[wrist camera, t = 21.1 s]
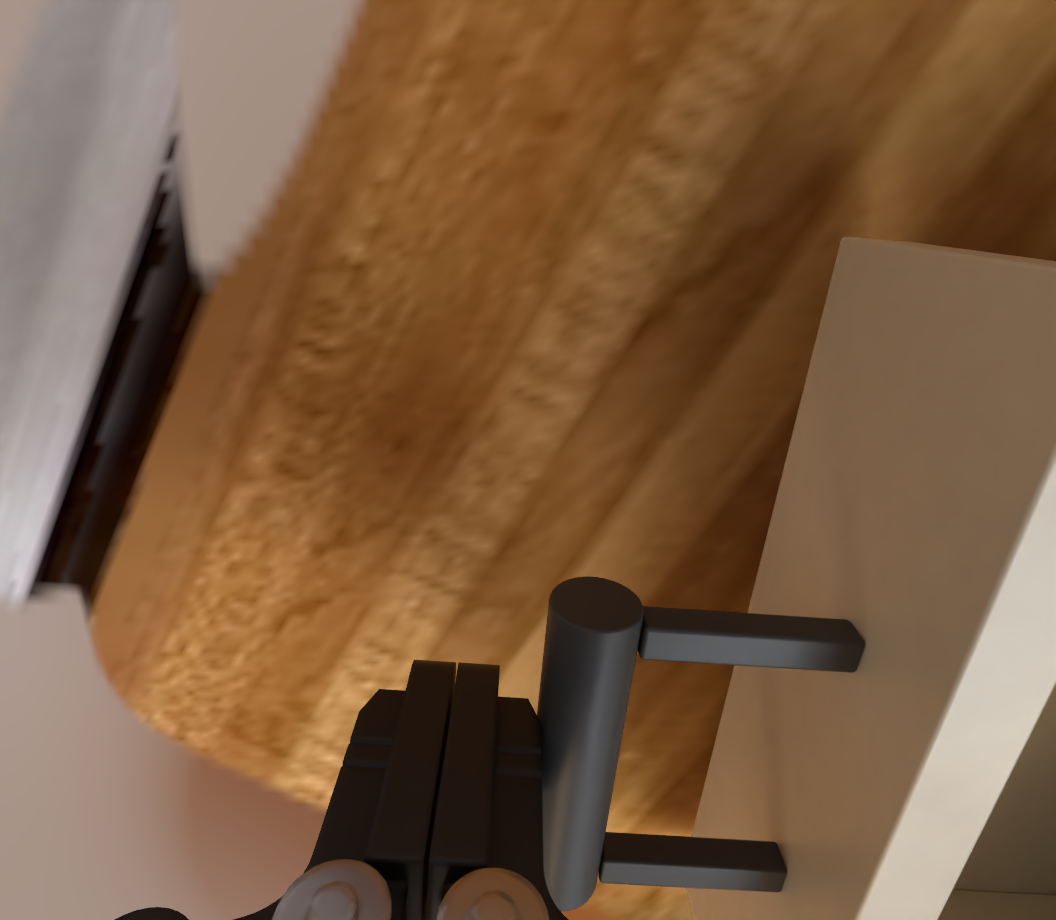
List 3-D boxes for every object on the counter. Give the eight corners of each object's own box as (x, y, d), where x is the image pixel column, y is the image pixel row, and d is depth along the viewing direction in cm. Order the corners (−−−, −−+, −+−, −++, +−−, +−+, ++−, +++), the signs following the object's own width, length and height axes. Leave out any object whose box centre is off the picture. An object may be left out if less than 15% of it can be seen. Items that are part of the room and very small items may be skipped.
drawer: (509, 862, 17) (499, 1163, 12) (570, 214, 11) (608, 235, 6) (1163, 898, 18) (1436, 1202, 12) (1584, 296, 11) (2506, 388, 6)
